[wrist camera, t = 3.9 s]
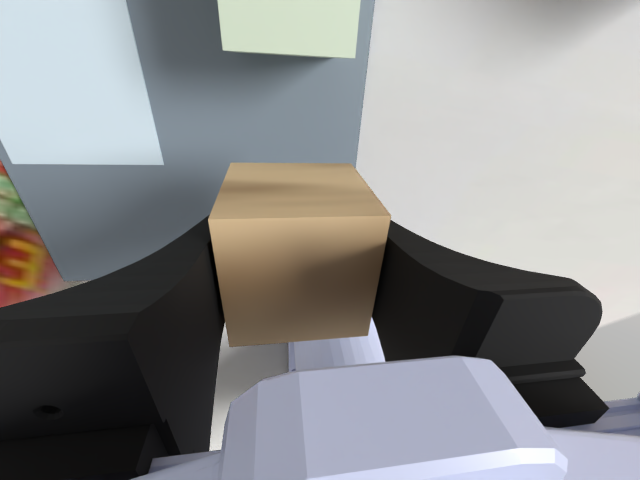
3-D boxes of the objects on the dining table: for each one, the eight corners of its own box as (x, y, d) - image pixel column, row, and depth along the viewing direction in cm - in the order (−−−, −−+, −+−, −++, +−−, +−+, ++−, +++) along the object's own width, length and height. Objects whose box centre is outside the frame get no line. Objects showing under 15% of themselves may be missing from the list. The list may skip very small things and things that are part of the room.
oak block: (341, 259, 14) (368, 335, 10) (241, 263, 13) (229, 347, 9) (351, 163, 11) (391, 215, 8) (230, 162, 11) (207, 219, 7)
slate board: (342, 265, 21) (344, 269, 21) (67, 277, 19) (62, 282, 18) (382, -91, 12) (386, -96, 12) (-157, -165, 9) (-177, -175, 9)
